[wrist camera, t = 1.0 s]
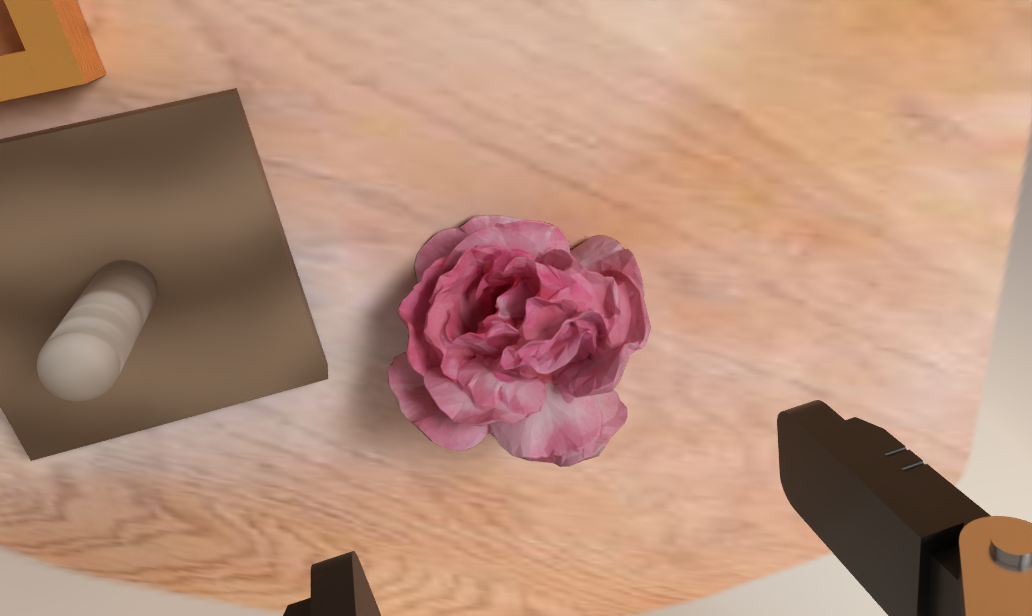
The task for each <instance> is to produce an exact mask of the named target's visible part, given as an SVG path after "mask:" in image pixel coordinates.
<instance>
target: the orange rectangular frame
mask: <svg viewBox="0 0 1032 616" xmlns="http://www.w3.org/2000/svg"><path fill="white" fill-rule="evenodd" d="M4 2H5V4H6V7H7V9H8V11H9V14H10V16H11V18H12V20H13V23H14V25H15V27H16V30H17V32H18V34H19V36H20V39H21V41H22V43H23V46H24V48H25V50H22V51H17V52H12V53H7V54H2V55H0V102H1V101H6V100H10V99H15V98H20V97H25V96H29V95H34V94H39V93H44V92H49V91H53V90H58V89H63V88H68V87H72V86H77V85H82V84H86V83H88V82H91V81H93V80H95V79H97V78H99V77H101V76H104V75H106V73H105V70H104V68H103V65H102V63H101V60H100V58H99V55H98V53H97V50H96V48H95V45H94V43H93V40H92V38H91V35H90V33H89V30H88V28H87V25H86V23H85V20H84V18H83V15H82V13H81V10H80V8H79V5H78V3H77V0H4Z"/></svg>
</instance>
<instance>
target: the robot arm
mask: <svg viewBox="0 0 1032 616" xmlns="http://www.w3.org/2000/svg"><path fill="white" fill-rule="evenodd" d="M777 429H778V448H779V467H780V479H781V483H782V487H783V490H784V492H785V494H786V497H787V499H788V500H789V502H790V504H791V505H792V507H793V508H794V509H795V511H796V512H797V513H798V514H799V515H800V516H801V517H802V518H803V520H804V521H805V522H806V523H807V524H808V525H809V526H810V527H811V529H812V530H813V531H814V532H815V533H816V534H817V535H818V537H819V538H820V539H821V540H822V541H823V542H824V543H825V544H826V546H827V547H828V548H829V549H830V550H831V551H832V552H833V553H834V555H835V556H836V557H837V558H838V559H839V560H840V561H841V562H842V564H843V565H844V566H845V567H846V568H847V569H848V570H849V572H850V573H851V574H852V575H853V576H854V577H855V578H856V579H857V581H858V582H859V583H860V584H861V585H862V586H863V587H864V588H865V590H866V591H867V592H868V593H869V594H870V595H871V596H872V598H873V599H874V600H875V601H876V602H877V603H878V604H879V605H880V606H881V608H882V609H883V610H884V611H885V612H886V613H887V614H888V616H1032V523H1030V522H1027V521H1025V520H1021V519H1017V518H1012V517H1005V516H990V515H989V514H988V513H987V512H985V511H984V510H983V509H982V508H981V507H979V506H978V505H977V504H976V503H974V502H973V501H972V500H971V499H969V498H968V497H967V496H966V495H965V494H963V493H962V492H961V491H960V490H958V489H957V488H956V487H955V486H954V485H952V484H951V483H950V482H949V481H947V480H946V479H945V478H944V477H942V476H941V475H940V474H939V473H938V472H936V471H935V470H934V469H933V468H931V467H930V466H929V465H928V464H924V463H923V460H922V459H920V458H919V457H918V456H917V455H915V454H914V453H913V452H912V451H910V450H906V448H905V446H904V445H903V444H902V443H901V442H899V441H898V440H897V439H896V438H894V437H893V436H892V435H891V434H890V433H888V432H887V431H886V430H885V429H883V428H881V427H878V426H876V425H873V424H871V423H868V422H866V421H864V420H861V419H859V418H856V417H854V418H851V419H848V420H844V419H843V418H842V417H841V416H840V415H838V414H837V413H836V412H835V411H834V410H833V409H831V408H830V407H829V406H828V405H827V404H825V403H824V402H822V401H820V400H816V401H812V402H809V403H806V404H803V405H800V406H797V407H794V408H791V409H788V410H785V411H782V412H780V413H779V415H778V418H777ZM283 616H381V614H380V611H379V609H378V606H377V604H376V601H375V599H374V596H373V594H372V591H371V589H370V586H369V584H368V581H367V579H366V576H365V574H364V571H363V569H362V566H361V563H360V561H359V559H358V556H357V554H356V553H355V552H354V551H352V552H349V553H346V554H343V555H340V556H337V557H334V558H331V559H328V560H325V561H322V562H319V563H316V564H313V565H312V566H311V598H308V599H305V600H302V601H299V602H296V603H293V604H290V605H288V606H287V608H286V611H285V613H284V615H283Z"/></svg>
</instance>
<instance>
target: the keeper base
mask: <svg viewBox="0 0 1032 616" xmlns="http://www.w3.org/2000/svg"><path fill="white" fill-rule="evenodd" d="M326 379H328V364H327V361H326V358H325V355H324V352H323V349H322V346H321V343H320V340H319V337H318V334H317V331H316V328H315V325H314V322H313V319H312V316H311V313H310V310H309V307H308V303H307V300H306V297H305V294H304V291H303V288H302V285H301V282H300V279H299V276H298V273H297V270H296V267H295V264H294V261H293V258H292V255H291V252H290V249H289V246H288V243H287V240H286V237H285V234H284V231H283V228H282V225H281V222H280V218H279V215H278V212H277V209H276V206H275V203H274V200H273V197H272V194H271V191H270V188H269V185H268V182H267V179H266V176H265V173H264V170H263V167H262V164H261V161H260V158H259V155H258V152H257V149H256V146H255V143H254V140H253V136H252V133H251V130H250V127H249V124H248V121H247V118H246V115H245V112H244V109H243V106H242V103H241V100H240V97H239V94H238V91H237V88H235V89H231V90H226V91H221V92H217V93H212V94H208V95H203V96H198V97H194V98H189V99H184V100H180V101H175V102H171V103H166V104H161V105H157V106H152V107H147V108H143V109H138V110H134V111H129V112H124V113H120V114H115V115H110V116H106V117H101V118H97V119H92V120H87V121H83V122H78V123H73V124H69V125H64V126H59V127H55V128H50V129H46V130H41V131H36V132H32V133H27V134H22V135H18V136H13V137H9V138H4V139H0V406H1V408H2V410H3V412H4V413H5V415H6V417H7V419H8V421H9V422H10V424H11V426H12V428H13V429H14V431H15V433H16V435H17V437H18V438H19V440H20V442H21V444H22V446H23V447H24V449H25V451H26V453H27V455H28V456H29V458H30V460H31V461H32V460H36V459H39V458H43V457H47V456H50V455H54V454H58V453H61V452H65V451H68V450H72V449H76V448H79V447H83V446H87V445H90V444H94V443H97V442H101V441H105V440H108V439H112V438H116V437H119V436H123V435H126V434H130V433H134V432H137V431H141V430H145V429H148V428H152V427H156V426H159V425H163V424H166V423H170V422H174V421H177V420H181V419H185V418H188V417H192V416H195V415H199V414H203V413H206V412H210V411H214V410H217V409H221V408H224V407H228V406H232V405H235V404H239V403H243V402H246V401H250V400H253V399H257V398H261V397H264V396H268V395H272V394H275V393H279V392H282V391H286V390H290V389H293V388H297V387H301V386H304V385H308V384H311V383H315V382H319V381H322V380H326Z"/></svg>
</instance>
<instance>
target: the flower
mask: <svg viewBox="0 0 1032 616" xmlns="http://www.w3.org/2000/svg"><path fill="white" fill-rule="evenodd" d="M414 268H415V272H416V276H417V280H418V284H416V285H415V286H414V287H413V289H412V291H411V292H410V294H409V295H408V296H407V297H406V298H404V299H403V300H402V302H401V304H400V306H399V309H398V312H397V314H398V315H399V317H400V318H401V320H402V321H403V322H404V324H405V325H406V327H407V328H408V330H409V336H408V345H407V351H406V352H404V353H402V354H400V355H398V356H396V357H394V360H393V363H392V364H391V365H390V367H389V368H388V382H389V385H390V387H391V390H392V392H393V394H394V396H395V398H396V400H397V402H398V405H399V408H400V410H401V412H402V413H403V414H404V415H405V416H406V418H407V419H408V420H409V421H411V422H412V424H414V425H415V426H416V427H417V428H418V429H419V430H420V431H421V432H422V433H423V434H424V435H425V436H426V437H427V438H428V439H429V440H431V441H433V442H435V443H436V444H438V445H440V446H443V447H445V448H448V449H451V450H457V451H464V450H466V449H469V448H471V447H474V446H476V445H477V444H479V443H480V441H481V440H482V439H483V438H484V437H485V436H486V435H487V434H489V433H490V434H491V435H492V436H493V437H495V438H496V440H497V441H498V443H499V444H500V445H501V446H502V447H503V448H504V449H505V450H506V451H508V452H509V453H510V454H511V455H512V456H515V457H519V458H522V459H526V460H529V461H539V462H549V463H554V464H556V465H558V466H560V467H562V466H571V465H574V464H576V463H579V462H581V461H584V460H587V459H590V458H594V457H597V456H599V454H600V453H601V452H602V450H603V449H604V447H605V446H606V445H607V443H608V441H609V440H610V438H611V437H612V436H613V435H614V434H615V433H616V432H617V431H618V430H619V429H620V428H621V427H622V426H623V425H624V424H625V421H626V419H627V407H626V406H625V405H624V404H623V403H622V402H621V401H620V399H619V396H618V394H617V392H615V391H614V388H615V387H616V385H617V384H618V383H619V381H620V380H621V377H622V375H623V372H624V369H625V367H626V364H627V362H628V359H629V357H630V354H632V353H633V352H635V351H636V350H638V349H642V348H643V347H644V346H645V344H646V342H647V339H648V336H649V333H650V330H651V326H650V321H649V317H648V313H647V309H646V305H645V301H644V287H643V282H642V277H641V273H640V270H639V268H638V265H637V262H636V260H635V258H634V255H633V253H632V252H631V251H630V250H629V249H624V248H623V247H622V246H621V243H620V242H618V241H617V240H615V239H613V238H611V237H608V236H606V235H596V236H592V237H590V238H589V239H587V240H586V241H585V242H583V243H582V244H580V245H579V246H577V247H576V248H574V249H573V250H571V251H570V248H569V244H568V241H567V239H566V237H565V236H564V234H563V232H562V231H561V230H560V229H559V228H558V227H556V226H554V225H551V224H549V223H545V222H541V221H531V220H519V219H515V218H512V217H506V216H484V215H476V216H474V217H473V218H472V219H470V220H469V221H468V222H467V223H466V224H464V225H463V226H461V227H453V228H450V229H447V230H443V231H440V232H439V233H437V234H436V235H434V236H433V237H432V238H431V239H430V240H429V241H428V242H427V243H426V244H425V245H424V246H423V247H422V248H421V249H420V251H419V252H418V254H417V257H416V261H415V265H414Z"/></svg>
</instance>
